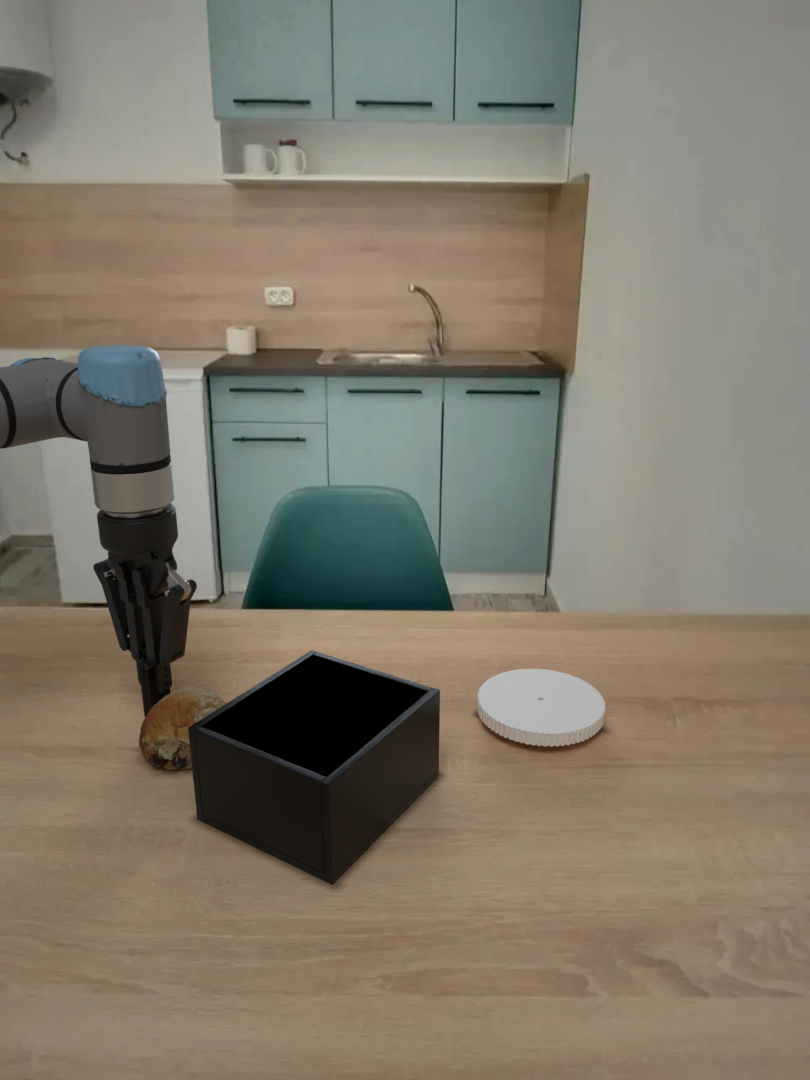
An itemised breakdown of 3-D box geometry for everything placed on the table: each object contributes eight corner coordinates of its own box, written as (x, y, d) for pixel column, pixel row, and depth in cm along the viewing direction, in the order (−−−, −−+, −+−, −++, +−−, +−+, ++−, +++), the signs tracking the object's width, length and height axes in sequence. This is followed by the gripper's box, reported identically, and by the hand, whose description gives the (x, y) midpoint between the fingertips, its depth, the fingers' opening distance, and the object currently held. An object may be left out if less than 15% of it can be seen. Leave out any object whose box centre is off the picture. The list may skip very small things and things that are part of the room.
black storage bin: (196, 819, 76) (187, 727, 73) (315, 730, 90) (311, 649, 87) (332, 885, 69) (328, 785, 65) (438, 776, 83) (440, 689, 79)
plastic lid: (463, 742, 88) (464, 721, 87) (490, 679, 101) (491, 661, 100) (597, 765, 84) (599, 743, 84) (608, 697, 97) (610, 678, 96)
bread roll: (246, 779, 88) (268, 707, 88) (167, 785, 80) (191, 705, 80) (191, 744, 94) (211, 677, 94) (112, 746, 86) (134, 672, 86)
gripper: (210, 507, 82) (226, 714, 90) (122, 487, 88) (144, 682, 96) (151, 528, 76) (174, 748, 84) (62, 505, 82) (90, 711, 90)
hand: (158, 712), depth 90 cm, fingers closed
